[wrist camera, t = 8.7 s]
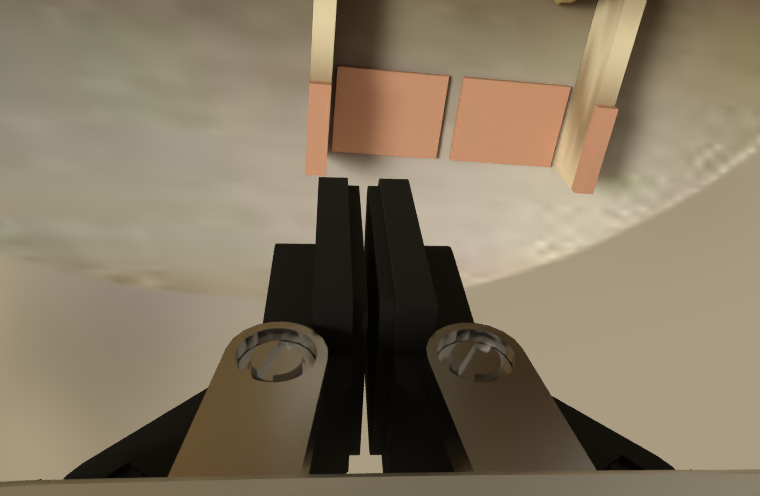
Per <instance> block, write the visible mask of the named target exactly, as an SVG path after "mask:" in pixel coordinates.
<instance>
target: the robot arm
mask: <svg viewBox="0 0 760 496" xmlns="http://www.w3.org/2000/svg"><path fill="white" fill-rule="evenodd" d="M364 375H365V386H366V401H367V402H366V403H367V420H368V436H369V451H370V455H382V465H383V473H366V474H346V473H347V472H348V466H349V455H360V443H361V426H362V425H361V424H362V408H363V391H364ZM0 496H760V470H755V469H750V470H675V469H674V468H673V467H672V466H671V465H669V464H668V463H666V462H665V461H663V460H662V459H661V458H659V457H658V456H656V455H655V454H653V453H651V452H649V451H648V450H646V449H644V448H642V447H641V446H639V445H637V444H635V443H633V442H632V441H630V440H628V439H626V438H624V437H623V436H621V435H619V434H618V433H616V432H614V431H612V430H611V429H609V428H607V427H605V426H604V425H602V424H600V423H598V422H597V421H595V420H593V419H591V418H590V417H588V416H586V415H584V414H583V413H581V412H579V411H577V410H576V409H574V408H572V407H570V406H568V405H567V404H565V403H563V402H562V401H560V400H558V399H556V398H555V397H553V396H551V395H550V393H549V391H548V390H547V388H546V386H545V385H544V383H543V381H542V380H541V378H540V376H539V375H538V373H537V372H536V370H535V368H534V367H533V365H532V363H531V362H530V360H529V358H528V357H527V355H526V353H525V352H524V350H523V349H522V348H521V346H520V345H519V344H518V343H517V342H516V340H515V339H513V338H512V337H510V336H509V335H507V334H506V333H505V332H503V331H500V330H498V329H496V328H493V327H491V326H487V325H483V324H478V323H474V321H473V318H472V315H471V311H470V308H469V304H468V301H467V298H466V295H465V291H464V288H463V285H462V281H461V278H460V275H459V271H458V268H457V265H456V262H455V258H454V255H453V252H452V249H451V247H449V246H424V244H423V239H422V235H421V231H420V227H419V222H418V218H417V214H416V210H415V205H414V201H413V197H412V192H411V188H410V184H409V180H408V179H379V183H378V186H368V189H367V205H366V225H365V245H364V244H363V231H362V218H361V205H360V192H359V186H348V178H330V177H319V185H318V205H317V226H316V244H275V249H274V255H273V261H272V268H271V274H270V281H269V287H268V294H267V300H266V307H265V313H264V320H263V324H259V325H256V326H253V327H251V328H249V329H246V330H244V331H243V332H241V333H240V334H239V335H237V336H236V337H234V338H233V339H232V341H231V342H230V344H229V345H228V346H227V348H226V349H225V352H224V354H223V356H222V358H221V360H220V363H219V365H218V367H217V369H216V371H215V374H214V376H213V378H212V380H211V382H210V385H209V387H208V388H207V389H205V390H203V391H202V392H200V393H198V394H197V395H195V396H193V397H192V398H190V399H188V400H187V401H185V402H184V403H182V404H180V405H179V406H177V407H175V408H173V409H172V410H170V411H168V412H167V413H165V414H163V415H162V416H160V417H159V418H157V419H155V420H154V421H152V422H151V423H149V424H147V425H145V426H144V427H142V428H140V429H139V430H137V431H136V432H134V433H132V434H130V435H129V436H127V437H126V438H124V439H122V440H120V441H119V442H117V443H115V444H114V445H112V446H111V447H109V448H107V449H106V450H104V451H102V452H101V453H99V454H98V455H96V456H94V457H92V458H91V459H89V460H87V461H86V462H84V463H82V464H81V465H80V466H78V467H77V468H76V469H75V470H73V471H72V472H71V473H69V474H68V475H67V476H66V477H65V478H64V479H63V480H42V479H40V480H25V481H7V482H0Z"/></svg>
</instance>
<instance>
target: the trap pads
mask: <svg viewBox="0 0 760 496" xmlns="http://www.w3.org/2000/svg"><path fill="white" fill-rule="evenodd" d="M448 81H449V76H447V75H436V74H424V73H413V72H401V71H390V70H378V69H367V68H355V67H344V66H337V81H336V96H335V110H334V125H333V140H332V151H334V152H348V153H362V154H375V155H389V156H403V157H417V158H431V159H436V156H437V150H438V143H439V137H440V131H441V125H442V118H443V112H444V106H445V100H446V93H447V87H448ZM331 85H332V82H323V81H311V80H310V91H309V112H308V134H307V155H306V175H318V176H326V163H327V148H328V132H329V116H330V101H331ZM570 89H571V87H570V86H562V85H550V84H539V83H528V82H516V81H505V80H493V79H482V78H470V77H463V83H462V89H461V95H460V100H459V106H458V112H457V118H456V124H455V129H454V135H453V141H452V147H451V153H450V160H458V161H472V162H486V163H500V164H514V165H528V166H542V167H550V166H551V162H552V158H553V154H554V150H555V146H556V143H557V139H558V135H559V131H560V127H561V124H562V120H563V116H564V112H565V108H566V104H567V101H568V97H569V93H570ZM618 110H619V109H618V108H616V107H615V106H608V105H596V104H595V108H594V111H593V115H592V118H591V122H590V125H589V129H588V132H587V136H586V139H585V143H584V146H583V150H582V153H581V157H580V160H579V164H578V167H577V171H576V174H575V177H574V181H573V184H572V188H571V189H572V190H573V192H574V193H583V194H593V191H594V188H595V185H596V182H597V178H598V175H599V172H600V169H601V165H602V162H603V159H604V156H605V152H606V149H607V146H608V143H609V139H610V136H611V133H612V130H613V126H614V123H615V120H616V116H617V113H618Z"/></svg>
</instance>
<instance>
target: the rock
mask: <svg viewBox="0 0 760 496" xmlns="http://www.w3.org/2000/svg"><path fill="white" fill-rule="evenodd" d="M575 1H576V0H554V2H555V3H556V4H558V5H559V4H562V3H573V2H575Z"/></svg>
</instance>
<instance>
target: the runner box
mask: <svg viewBox="0 0 760 496" xmlns="http://www.w3.org/2000/svg"><path fill="white" fill-rule="evenodd" d="M646 1H647V0H598V3H597V6H596V10H595V14H594V18H593V21H592V25H591V29H590V33H589V36H588V40H587V44H586V48H585V52H584V55H583V59H582V63H581V67H580V70H579V74H578V78H577V82H576V85H575V89H574V93H573V97H572V100H571V104H570V108H569V112H568V116H567V119H566V123H565V127H564V131H563V134H562V138H561V142H560V146H559V149H558V153H557V157H556V161H555V165H554V167H555V168H556V169H557V171H558V172H559V173H560V175H561V176H562V177H563V179H564V180H565V181H566V182H567V184H568V185H569V186H570V188H572V184H573V181H574V177H575V174H576V171H577V167H578V164H579V160H580V157H581V153H582V150H583V146H584V143H585V139H586V136H587V132H588V129H589V125H590V122H591V118H592V115H593V111H594V108H595V104H596V105H608V106H615V104H616V100H617V97H618V94H619V90H620V87H621V84H622V80H623V77H624V74H625V71H626V67H627V64H628V61H629V57H630V54H631V51H632V47H633V44H634V41H635V38H636V34H637V31H638V28H639V24H640V21H641V18H642V14H643V11H644V8H645V5H646ZM336 5H337V0H314V9H313V30H312V52H311V73H310V80H311V81H323V82H332V67H333V51H334V36H335V20H336Z"/></svg>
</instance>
